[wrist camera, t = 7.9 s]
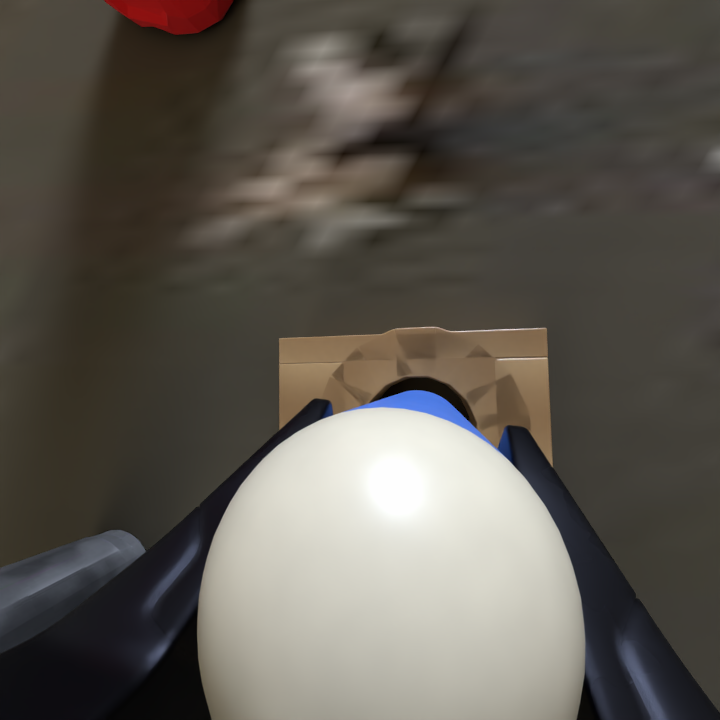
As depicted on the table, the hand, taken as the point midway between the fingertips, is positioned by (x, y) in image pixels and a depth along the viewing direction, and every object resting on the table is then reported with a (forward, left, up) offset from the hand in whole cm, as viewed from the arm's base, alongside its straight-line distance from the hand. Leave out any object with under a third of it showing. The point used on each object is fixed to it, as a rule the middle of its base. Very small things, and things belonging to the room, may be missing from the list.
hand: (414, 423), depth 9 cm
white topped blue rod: (-1, 0, -7) cm, 7 cm away
